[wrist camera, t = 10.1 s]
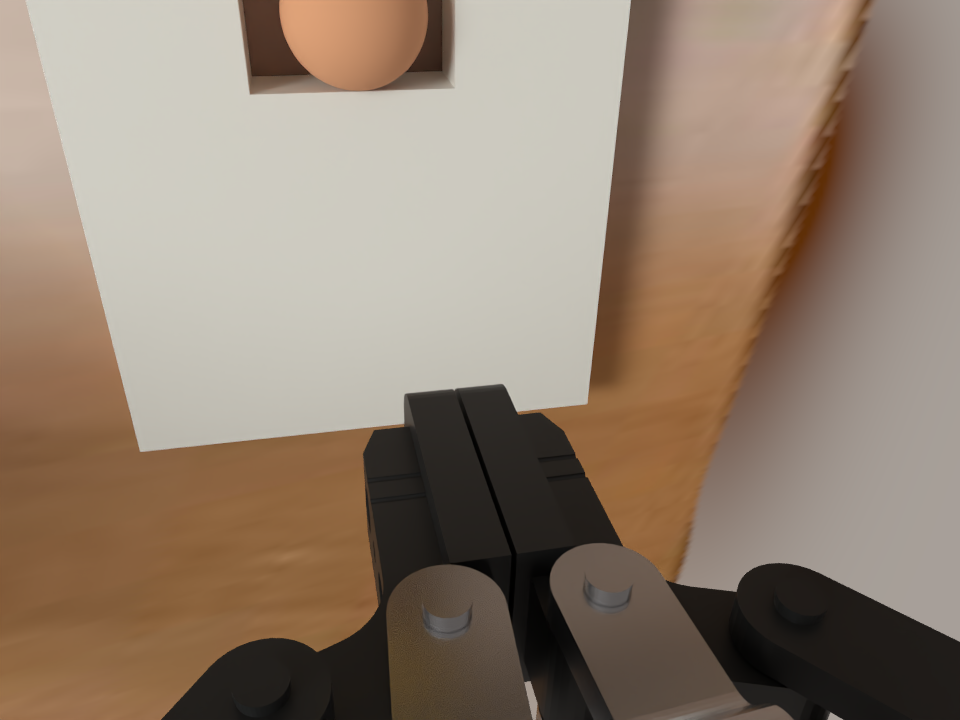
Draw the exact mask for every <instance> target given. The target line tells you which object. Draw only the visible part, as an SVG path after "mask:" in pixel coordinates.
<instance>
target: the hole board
mask: <svg viewBox="0 0 960 720" xmlns="http://www.w3.org/2000/svg"><path fill="white" fill-rule="evenodd" d="M26 4H27V8H28V12H29V16H30V20H31V24H32V28H33V32H34V36H35V40H36V44H37V48H38V52H39V55H40V59H41V63H42V67H43V71H44V75H45V79H46V83H47V87H48V91H49V95H50V99H51V103H52V107H53V111H54V115H55V118H56V122H57V126H58V130H59V134H60V138H61V142H62V146H63V150H64V154H65V158H66V162H67V166H68V170H69V174H70V177H71V181H72V185H73V189H74V193H75V197H76V201H77V205H78V209H79V213H80V217H81V221H82V225H83V229H84V233H85V236H86V240H87V244H88V248H89V252H90V256H91V260H92V264H93V268H94V272H95V276H96V280H97V284H98V288H99V292H100V295H101V299H102V303H103V307H104V311H105V315H106V319H107V323H108V327H109V331H110V335H111V339H112V343H113V347H114V351H115V354H116V358H117V362H118V366H119V370H120V374H121V378H122V382H123V386H124V390H125V394H126V398H127V402H128V406H129V410H130V414H131V417H132V421H133V425H134V429H135V433H136V437H137V441H138V445H139V449H140V452H144V451H153V450H162V449H172V448H181V447H190V446H200V445H209V444H218V443H228V442H237V441H246V440H256V439H265V438H275V437H284V436H293V435H303V434H312V433H321V432H331V431H340V430H349V429H359V428H368V427H377V426H387V425H396V424H404V395H405V394H406V393H416V392H426V391H436V390H446V389H453V390H454V391H455V389H456V388H465V387H475V386H485V385H495V384H503V385H504V386H505V387H506V389H507V391H508V394H509V396H510V398H511V400H512V403H513V405H514V407H515V409H516V411H517V412H518V411H527V410H536V409H546V408H555V407H564V406H574V405H583V404H587V402H588V392H589V383H590V374H591V365H592V355H593V346H594V337H595V328H596V318H597V309H598V300H599V291H600V282H601V272H602V263H603V254H604V245H605V235H606V226H607V217H608V208H609V199H610V189H611V180H612V171H613V162H614V152H615V143H616V134H617V125H618V116H619V106H620V97H621V88H622V79H623V69H624V60H625V51H626V42H627V32H628V23H629V14H630V5H631V0H442V71H432V72H404V73H403V74H402V75H401V76H400V77H398V78H397V79H396V80H394V81H392V82H391V83H389V84H387V85H385V86H382V87H380V88H376V89H372V90H366V91H350V90H344V89H340V88H336V87H334V86H331V85H329V84H326V83H324V82H323V81H321V80H319V79H317V78H316V77H315V76H313V75H283V76H252V73H251V65H250V57H249V49H248V41H247V32H246V24H245V16H244V8H243V0H26Z"/></svg>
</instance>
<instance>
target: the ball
mask: <svg viewBox="0 0 960 720" xmlns="http://www.w3.org/2000/svg"><path fill="white" fill-rule="evenodd" d="M279 13H280V20H281V25H282V29H283V33H284V36H285V38H286V41H287V43H288V45H289V47H290V49H291V51H292V52H293V54H294V56H295V57H296V58H297V60H298V61H299V62H300V63H301V64H302V65H303V67H305V68H306V69H307V70H308V71H309V72H310V73H311V74H312V75H313V76H315V77H316V78H317V79H319V80H321V81H323V82H324V83H326V84H329V85H331V86H334V87H336V88H340V89H344V90H350V91H366V90H372V89H376V88H380V87H382V86H385V85H387V84H389V83H391V82H392V81H394V80H396V79H397V78H398V77H400V76H401V75H402V74H403V73H404V72H406V71H407V70H408V69H409V67H410V66H411V65H412V64H413V62H414V61H415V59H416V57H417V56H418V54H419V52H420V50H421V48H422V46H423V43H424V40H425V36H426V32H427V24H428V7H427V0H280V2H279Z"/></svg>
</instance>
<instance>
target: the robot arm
mask: <svg viewBox="0 0 960 720" xmlns="http://www.w3.org/2000/svg"><path fill="white" fill-rule="evenodd" d="M363 459H364V476H365V492H366V509H367V525H368V536H369V542H370V549H371V556H372V563H373V570H374V577H375V583H376V591H377V597H378V604H379V607H378V609H377V610H376V612H375V614H374V615H373V617H372V618H371V619H370V620H369V622H368V623H367V624H366V625H364V626H363V627H362V628H361V629H360V630H359V631H357V632H356V633H355V634H353V635H352V636H350V637H348V638H347V639H345V640H343V641H341V642H339V643H337V644H334V645H332V646H330V647H328V648H326V649H323V650H321V651H319V652H316V651H315V650H313V649H312V648H310V647H309V646H307V645H305V644H303V643H300V642H297V641H295V640H289V639H284V638H269V639H261V640H257V641H252V642H249V643H246V644H244V645H241V646H238V647H237V648H235V649H233V650H231V651H229V652H227V653H226V654H225V655H223V656H222V657H221V658H219V659H218V660H217V661H216V662H215V663H214V664H213V665H211V666H210V667H209V668H208V670H207V671H206V672H205V673H204V674H203V675H202V676H201V677H200V678H199V679H198V680H197V681H196V683H195V684H194V685H193V686H192V687H191V688H190V689H189V690H188V691H187V692H186V693H185V695H184V696H183V697H182V698H181V699H180V700H179V701H178V702H177V703H176V704H175V705H174V706H173V708H172V709H171V710H170V711H169V712H168V713H167V714H166V715H165V716H164V717H163V718H162V719H161V720H533V719H532V715H531V711H530V706H529V701H528V697H527V692H526V688H525V683H524V682H527V681H531V684H532V687H533V690H534V693H535V697H536V700H537V703H538V705H537V715H536V720H827V719H828V717H829V714H830V712H831V713H833V714H835V715H837V716H838V717H840V718H842V719H843V720H960V642H959V641H957V640H955V639H953V638H951V637H949V636H946V635H945V634H942V633H940V632H938V631H936V630H934V629H932V628H930V627H928V626H926V625H924V624H922V623H920V622H918V621H916V620H914V619H912V618H910V617H907V616H906V615H904V614H902V613H900V612H897V611H895V610H893V609H891V608H889V607H887V606H885V605H883V604H881V603H879V602H877V601H875V600H873V599H871V598H869V597H867V596H865V595H863V594H861V593H859V592H857V591H855V590H853V589H851V588H849V587H846V586H844V585H842V584H840V583H838V582H836V581H834V580H832V579H830V578H828V577H826V576H824V575H822V574H820V573H818V572H815V571H813V570H811V569H808V568H804V567H801V566H797V565H792V564H782V563H775V564H766V565H761V566H758V567H756V568H753V569H752V570H750V571H749V572H747V573H746V574H745V575H744V577H743V578H742V579H741V581H740V583H739V585H738V589H737V592H733V591H724V590H715V589H707V588H698V587H690V586H684V585H679V584H676V583H672V582H669V581H667V580H665V579H664V578H663V576H662V575H661V573H660V572H659V571H658V569H657V568H656V567H655V566H654V565H653V564H652V563H651V562H650V561H649V560H648V559H646V558H645V557H643V556H642V555H640V554H639V553H637V552H635V551H633V550H630V549H628V548H625V547H623V545H622V543H621V541H620V539H619V537H618V536H617V534H616V532H615V530H614V528H613V526H612V524H611V522H610V520H609V518H608V516H607V514H606V512H605V510H604V508H603V506H602V505H601V503H600V501H599V499H598V497H597V495H596V493H595V491H594V489H593V487H592V485H591V483H590V481H589V479H588V477H585V472H584V470H583V468H582V466H581V464H580V462H579V460H578V458H576V457H575V452H574V450H573V448H572V446H571V444H570V442H569V441H568V439H567V437H566V435H565V433H564V431H563V430H562V429H560V428H559V427H558V426H557V425H555V424H554V423H553V422H552V421H550V420H549V419H548V418H546V417H545V416H544V415H543V414H541V413H531V414H522V415H518V414H517V411H516V409H515V407H514V405H513V403H512V400H511V398H510V396H509V394H508V391H507V389H506V387H505V386H504V385H503V384H495V385H485V386H475V387H465V388H456V389H455V391H454V390H453V389H446V390H436V391H426V392H416V393H406V394H405V395H404V427H401V428H392V429H382V430H374V432H373V434H372V436H371V438H370V440H369V442H368V444H367V446H366V449H365V451H364V453H363Z"/></svg>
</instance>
